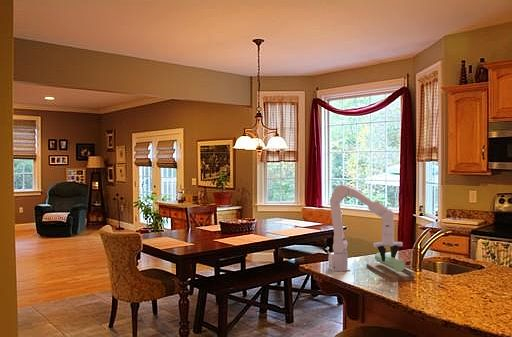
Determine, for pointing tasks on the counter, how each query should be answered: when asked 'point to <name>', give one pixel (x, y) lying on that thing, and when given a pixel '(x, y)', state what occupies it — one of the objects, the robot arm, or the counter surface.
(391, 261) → the container
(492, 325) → the counter surface
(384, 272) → the shelf
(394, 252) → the robot arm
